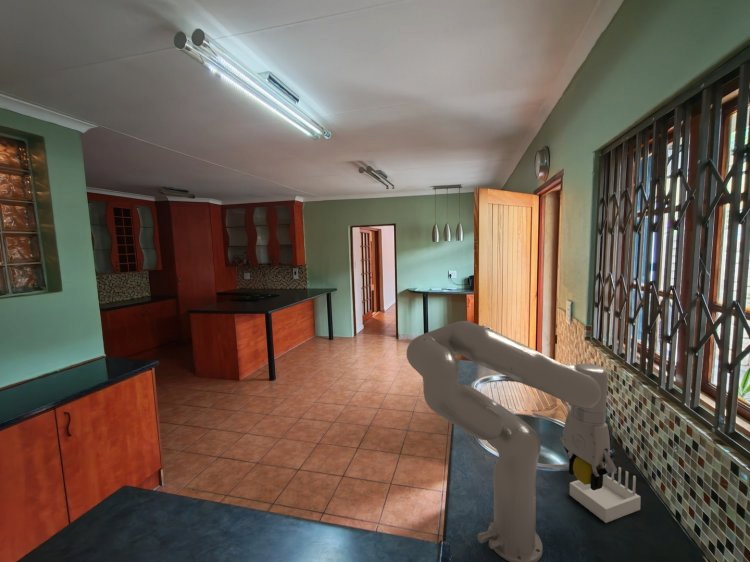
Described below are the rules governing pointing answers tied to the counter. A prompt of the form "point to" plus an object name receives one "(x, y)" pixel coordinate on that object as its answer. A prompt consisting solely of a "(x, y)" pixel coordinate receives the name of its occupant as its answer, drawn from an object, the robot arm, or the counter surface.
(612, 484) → the rack
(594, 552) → the counter surface
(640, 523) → the counter surface
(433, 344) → the robot arm
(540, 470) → the counter surface
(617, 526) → the counter surface
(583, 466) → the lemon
